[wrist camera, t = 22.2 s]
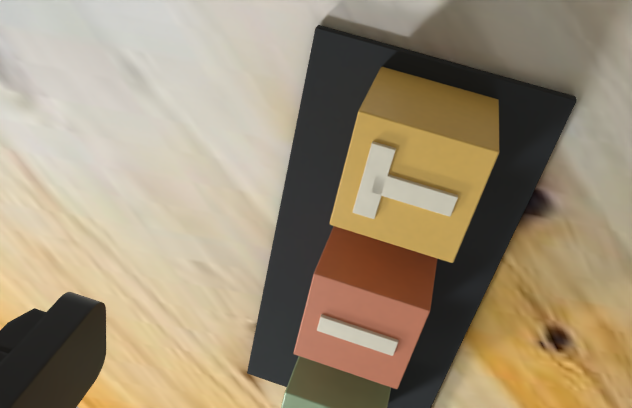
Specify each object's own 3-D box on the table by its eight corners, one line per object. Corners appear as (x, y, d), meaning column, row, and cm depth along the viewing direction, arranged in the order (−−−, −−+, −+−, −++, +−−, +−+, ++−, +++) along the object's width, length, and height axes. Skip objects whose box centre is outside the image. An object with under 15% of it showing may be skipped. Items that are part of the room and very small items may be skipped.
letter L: (311, 323, 31) (284, 394, 27) (398, 352, 30) (383, 429, 26) (295, 382, 33) (268, 455, 29) (375, 409, 33) (358, 487, 29)
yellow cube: (381, 65, 23) (357, 112, 19) (499, 99, 22) (500, 153, 18) (353, 167, 25) (327, 227, 22) (459, 199, 25) (452, 266, 21)
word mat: (318, 24, 23) (315, 27, 23) (576, 96, 22) (577, 100, 22) (249, 368, 34) (246, 373, 34) (419, 427, 33) (418, 433, 33)
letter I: (339, 211, 27) (312, 275, 23) (439, 242, 26) (429, 313, 22) (319, 287, 29) (291, 356, 25) (410, 317, 29) (396, 392, 25)
